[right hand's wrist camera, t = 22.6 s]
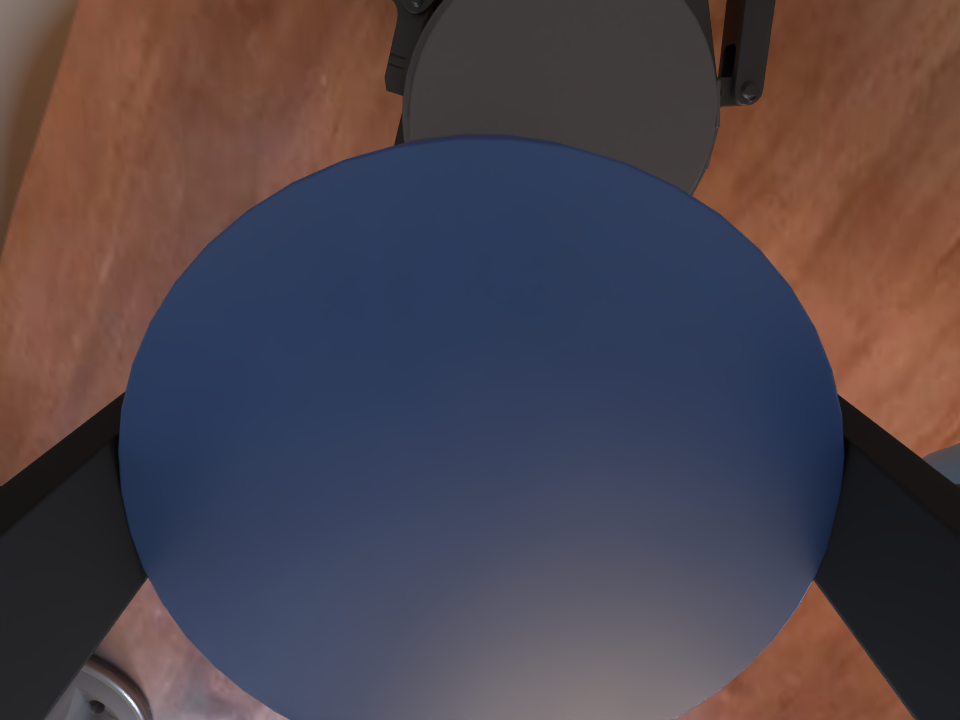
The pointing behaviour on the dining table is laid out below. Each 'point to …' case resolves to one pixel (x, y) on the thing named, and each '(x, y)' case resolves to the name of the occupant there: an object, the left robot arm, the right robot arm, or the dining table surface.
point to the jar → (571, 79)
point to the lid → (481, 441)
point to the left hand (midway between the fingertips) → (510, 208)
